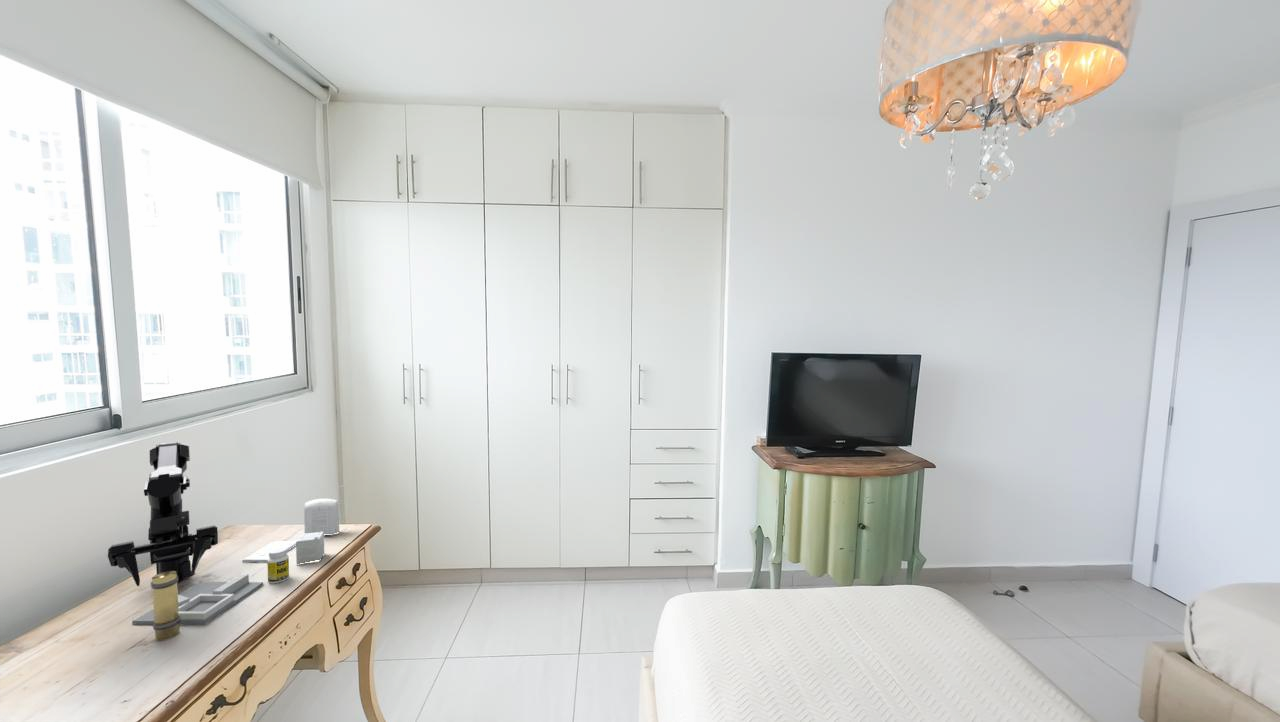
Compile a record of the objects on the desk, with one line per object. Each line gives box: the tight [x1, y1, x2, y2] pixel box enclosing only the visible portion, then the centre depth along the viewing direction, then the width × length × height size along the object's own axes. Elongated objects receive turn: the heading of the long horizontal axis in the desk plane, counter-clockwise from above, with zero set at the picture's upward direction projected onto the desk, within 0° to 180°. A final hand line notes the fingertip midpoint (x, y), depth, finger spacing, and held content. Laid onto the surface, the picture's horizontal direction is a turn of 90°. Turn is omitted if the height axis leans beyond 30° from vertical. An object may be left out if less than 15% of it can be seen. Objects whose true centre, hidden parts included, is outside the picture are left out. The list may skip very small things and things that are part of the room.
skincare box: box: [295, 532, 325, 565], centre depth 148 cm, size 6×6×7 cm
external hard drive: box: [241, 540, 297, 563], centre depth 152 cm, size 2×8×12 cm
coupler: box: [150, 571, 181, 642], centre depth 111 cm, size 4×4×14 cm
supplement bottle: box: [267, 547, 290, 584], centre depth 136 cm, size 5×5×8 cm
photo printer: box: [303, 498, 340, 534], centre depth 166 cm, size 10×4×12 cm, turn 103°
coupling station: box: [131, 573, 264, 626], centre depth 124 cm, size 17×18×3 cm
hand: (166, 578), depth 114 cm, fingers open, 9 cm apart
